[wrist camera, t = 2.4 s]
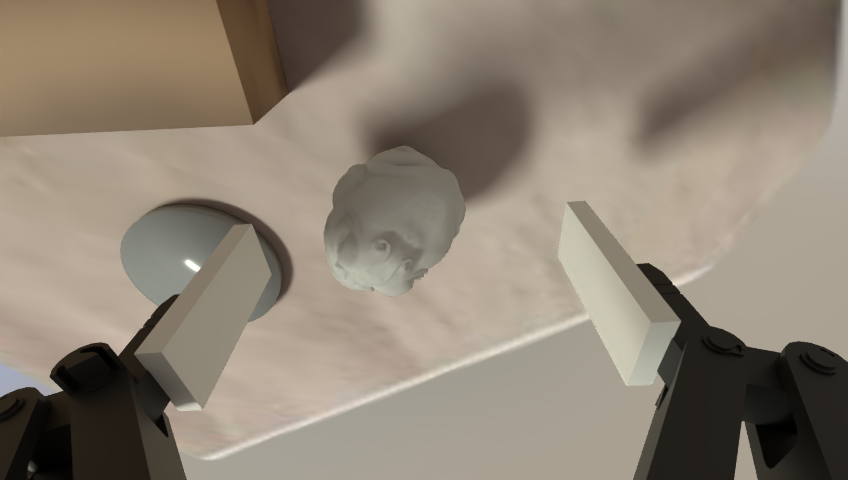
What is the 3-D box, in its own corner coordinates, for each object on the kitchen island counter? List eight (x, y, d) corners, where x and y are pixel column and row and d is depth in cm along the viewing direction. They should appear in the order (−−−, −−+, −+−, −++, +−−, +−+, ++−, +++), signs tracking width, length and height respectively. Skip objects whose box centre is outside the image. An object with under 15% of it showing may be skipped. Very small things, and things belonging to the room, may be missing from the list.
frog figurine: (314, 188, 20) (276, 269, 15) (402, 94, 18) (397, 148, 12) (396, 250, 23) (390, 340, 17) (483, 176, 20) (512, 253, 14)
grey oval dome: (97, 210, 21) (87, 217, 20) (256, 198, 20) (251, 205, 20) (171, 321, 26) (165, 330, 25) (298, 312, 26) (295, 321, 25)
